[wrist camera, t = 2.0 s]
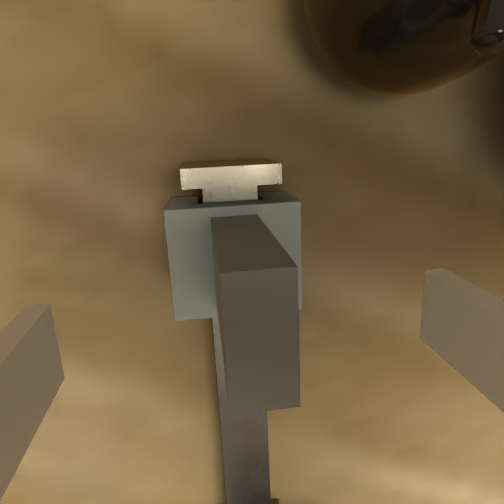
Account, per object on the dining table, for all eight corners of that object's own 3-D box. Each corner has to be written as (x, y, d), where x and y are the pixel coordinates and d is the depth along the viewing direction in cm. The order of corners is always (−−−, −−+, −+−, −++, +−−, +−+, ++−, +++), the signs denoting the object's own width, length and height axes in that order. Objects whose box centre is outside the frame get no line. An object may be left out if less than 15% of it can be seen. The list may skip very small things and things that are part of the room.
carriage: (283, 190, 26) (370, 245, 13) (285, 281, 27) (364, 411, 15) (169, 197, 25) (139, 263, 12) (178, 291, 27) (161, 436, 14)
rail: (265, 158, 25) (281, 163, 21) (278, 508, 33) (292, 572, 28) (183, 162, 25) (179, 169, 20) (214, 518, 32) (218, 584, 27)
